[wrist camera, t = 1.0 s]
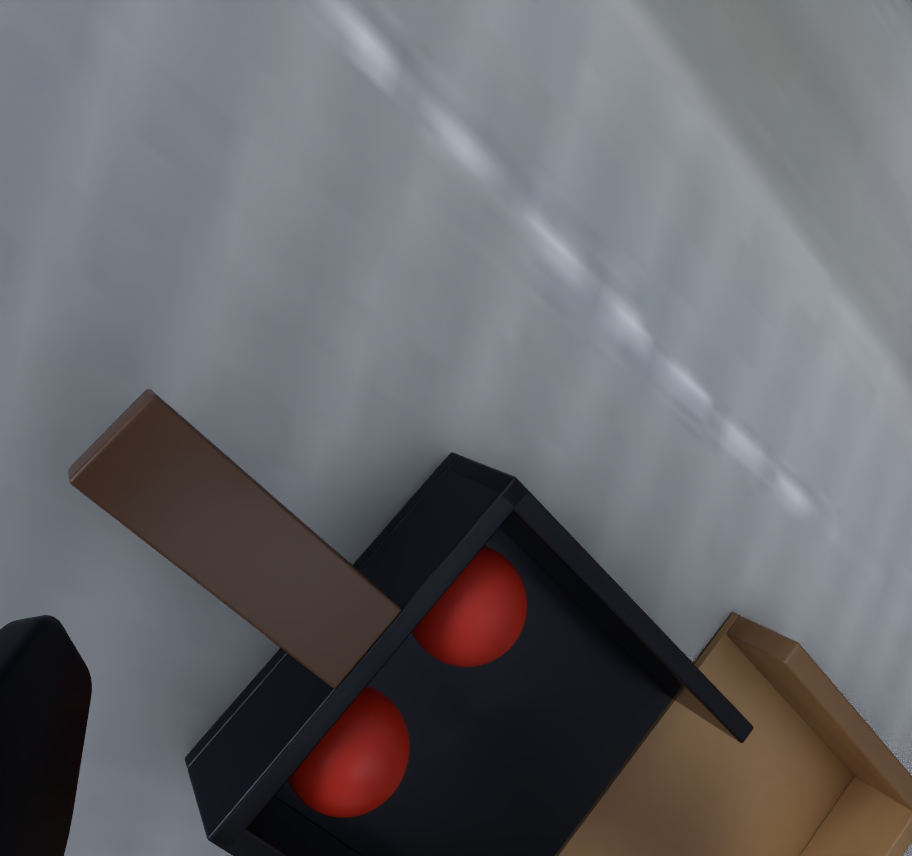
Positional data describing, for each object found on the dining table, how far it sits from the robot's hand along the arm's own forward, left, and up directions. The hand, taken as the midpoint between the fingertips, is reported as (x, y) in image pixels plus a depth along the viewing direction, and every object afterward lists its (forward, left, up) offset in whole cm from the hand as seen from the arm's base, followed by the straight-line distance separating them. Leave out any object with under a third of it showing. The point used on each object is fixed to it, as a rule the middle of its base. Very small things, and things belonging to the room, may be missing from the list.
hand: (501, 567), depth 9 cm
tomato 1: (-4, -7, -11) cm, 14 cm away
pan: (-2, -7, -13) cm, 15 cm away
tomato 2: (0, -7, -11) cm, 13 cm away
